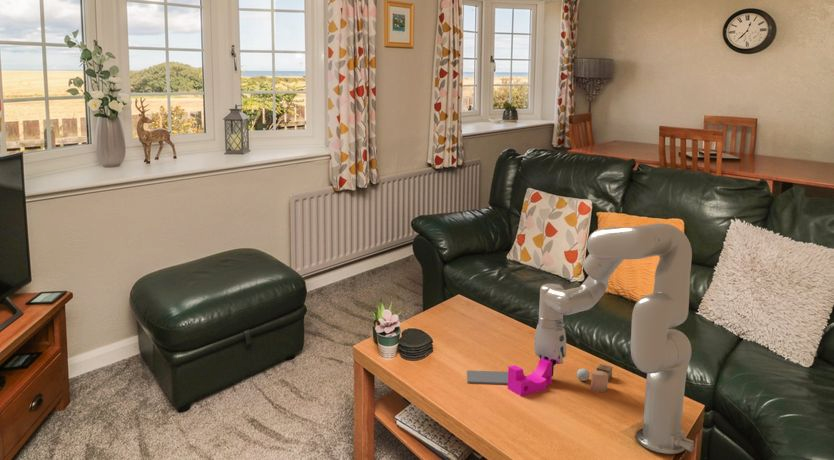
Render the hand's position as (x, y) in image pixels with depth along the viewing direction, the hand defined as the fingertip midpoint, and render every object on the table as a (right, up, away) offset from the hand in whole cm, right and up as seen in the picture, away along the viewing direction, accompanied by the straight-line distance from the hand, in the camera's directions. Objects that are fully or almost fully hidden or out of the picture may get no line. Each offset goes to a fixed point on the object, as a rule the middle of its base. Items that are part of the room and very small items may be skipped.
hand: (547, 376), depth 188 cm
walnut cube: (+19, -1, +2) cm, 19 cm away
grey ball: (+11, -1, 0) cm, 11 cm away
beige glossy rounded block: (+15, -2, -6) cm, 16 cm away
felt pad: (-18, -1, +1) cm, 18 cm away
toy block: (-6, -2, -6) cm, 9 cm away
